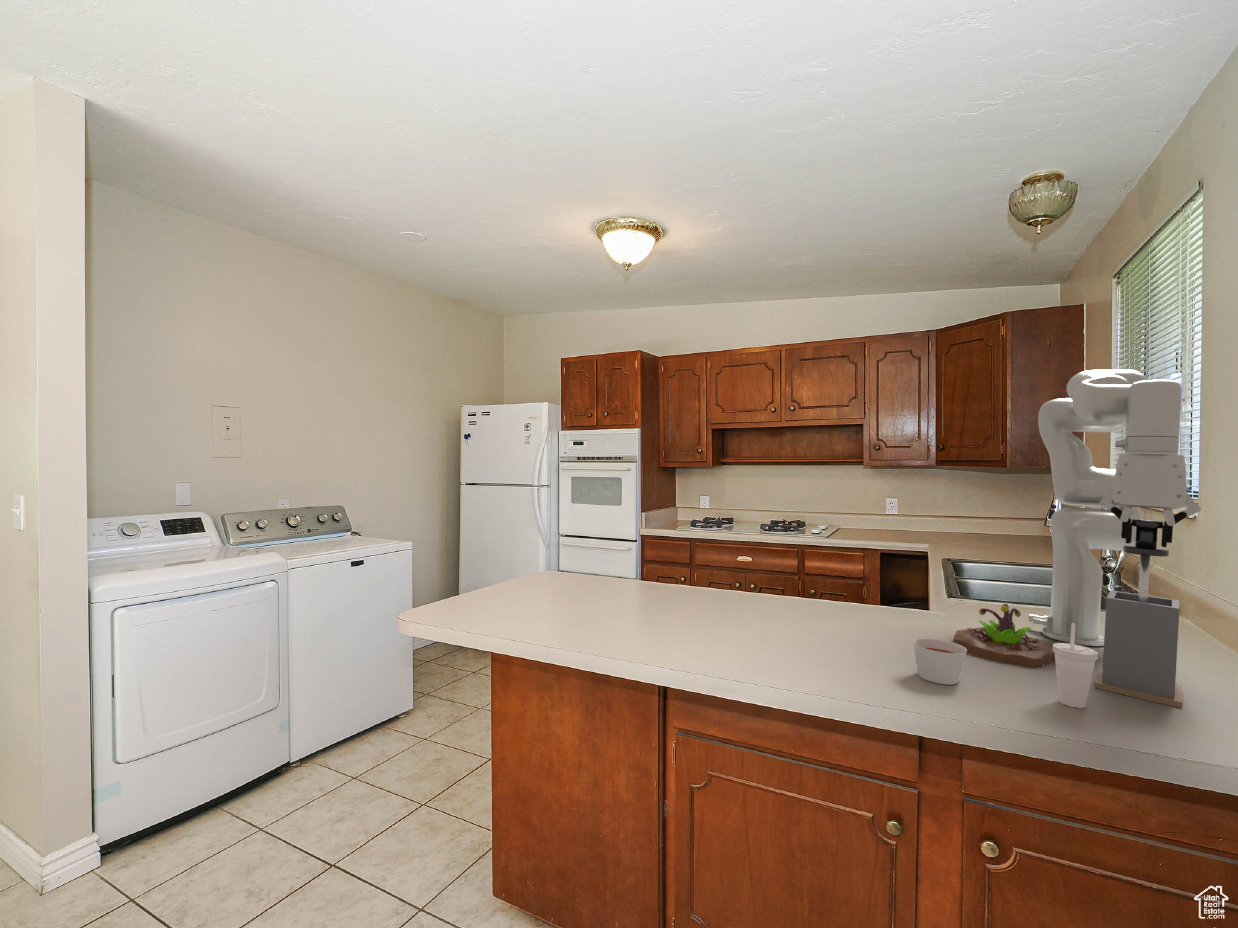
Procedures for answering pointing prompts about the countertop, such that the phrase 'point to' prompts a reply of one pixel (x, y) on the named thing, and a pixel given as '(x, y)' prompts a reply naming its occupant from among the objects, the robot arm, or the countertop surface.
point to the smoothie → (1074, 671)
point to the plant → (1005, 642)
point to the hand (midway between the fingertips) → (1146, 543)
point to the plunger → (1145, 551)
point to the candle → (939, 660)
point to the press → (1141, 648)
